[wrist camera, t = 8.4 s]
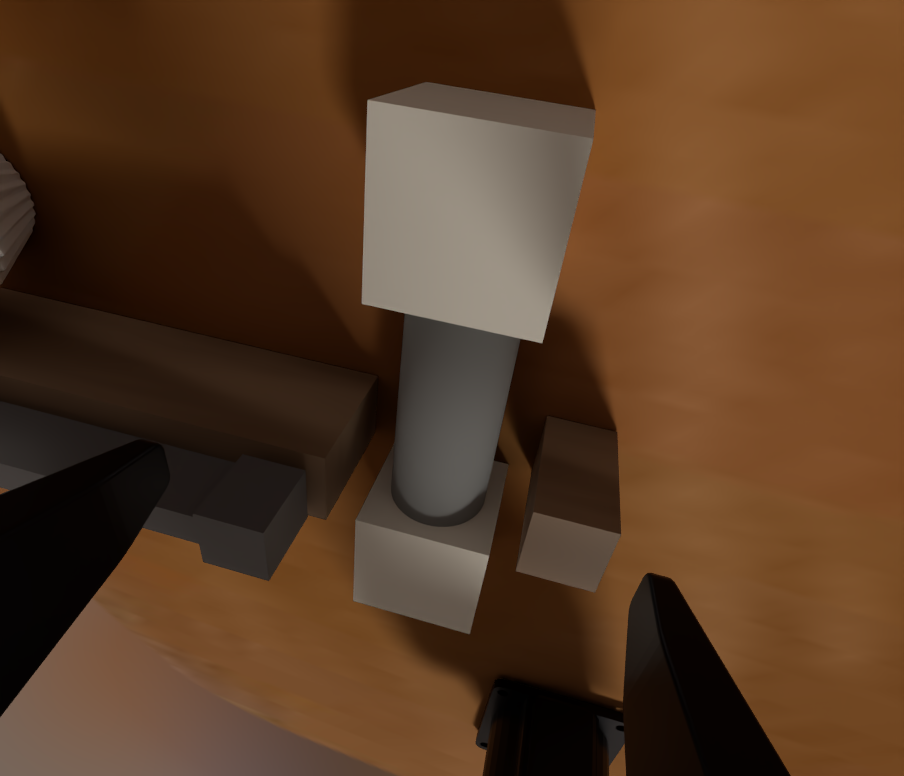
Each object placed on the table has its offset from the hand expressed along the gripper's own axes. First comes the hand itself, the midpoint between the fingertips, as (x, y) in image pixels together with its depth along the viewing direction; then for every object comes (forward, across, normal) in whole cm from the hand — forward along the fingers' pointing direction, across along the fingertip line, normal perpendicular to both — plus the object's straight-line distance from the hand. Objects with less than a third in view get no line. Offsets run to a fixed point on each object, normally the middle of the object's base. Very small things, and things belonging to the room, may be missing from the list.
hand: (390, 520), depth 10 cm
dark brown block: (+8, +6, +4) cm, 10 cm away
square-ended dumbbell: (+8, 0, +1) cm, 8 cm away
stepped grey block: (+3, +11, +4) cm, 13 cm away
